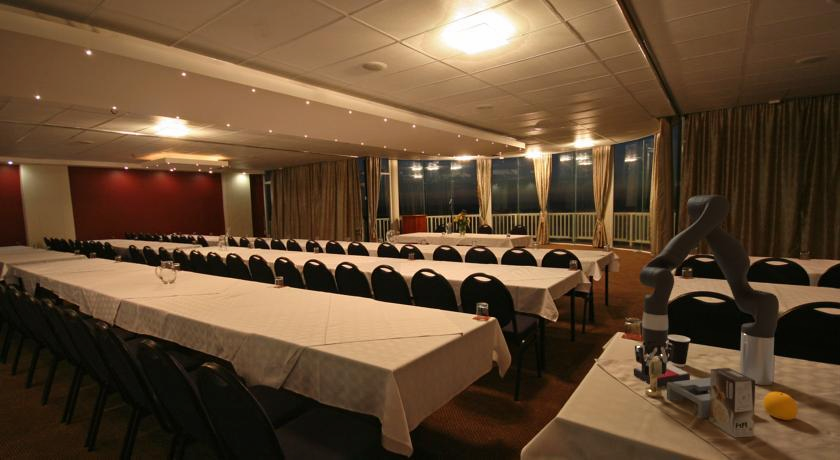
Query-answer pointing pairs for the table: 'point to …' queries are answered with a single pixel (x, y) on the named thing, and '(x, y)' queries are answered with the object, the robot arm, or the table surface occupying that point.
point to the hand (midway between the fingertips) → (653, 374)
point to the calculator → (664, 375)
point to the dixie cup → (679, 349)
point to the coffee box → (732, 402)
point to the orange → (780, 406)
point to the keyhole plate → (692, 393)
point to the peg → (654, 378)
